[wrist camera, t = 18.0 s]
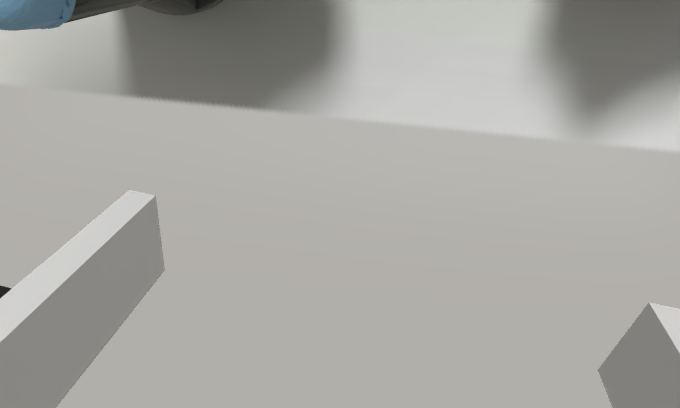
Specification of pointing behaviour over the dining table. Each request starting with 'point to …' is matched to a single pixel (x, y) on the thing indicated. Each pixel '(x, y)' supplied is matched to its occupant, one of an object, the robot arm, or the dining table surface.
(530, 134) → the dining table surface
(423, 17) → the dining table surface
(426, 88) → the dining table surface
